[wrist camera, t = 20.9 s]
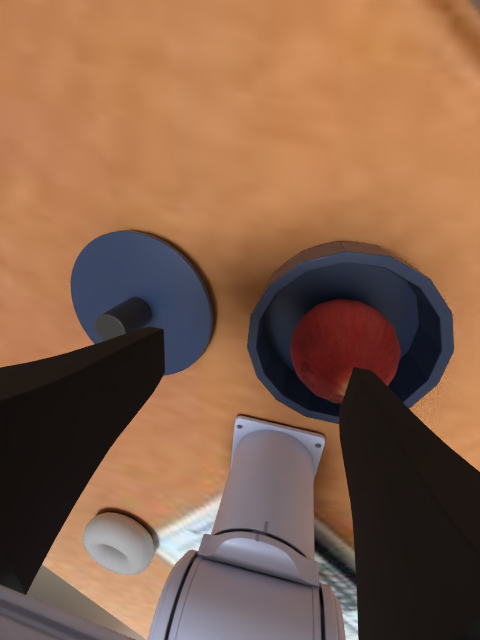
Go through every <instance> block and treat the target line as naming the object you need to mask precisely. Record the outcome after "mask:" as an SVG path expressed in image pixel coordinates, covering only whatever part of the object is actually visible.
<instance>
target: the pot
mask: <svg viewBox="0 0 480 640" xmlns="http://www.w3.org/2000/svg"><path fill="white" fill-rule="evenodd" d="M335 299H346V300H358V301H360V302H362V303H365V304H367V305H369V306H372V307H374V308H376V309H377V310H378V311H379V312H380V313H381V314H382V315H383V316H384V317H385V318H386V319H387V320H388V321H389V322H390V323H391V324H392V325H393V326H394V329H395V332H396V336H397V339H398V342H399V345H400V349H401V355H400V359H399V363H398V367H397V371H396V374H395V376H394V378H393V379H392V380H391V382H390V383H389V385H388V387H389V389H390V390H391V391H392V392H393V393H394V394H395V395H396V396H397V397H398V398H399V399H400V400H401V401H402V402H403V403H404V404H405V405H406V406H407V408H408V409H409V408H411V407H412V406H413V405H414V404H415V403H417V402H418V401H419V400H420V399H421V398H422V397H424V396H425V395H426V394H427V393H428V392H429V391H431V390H432V389H433V388H434V387H435V386H436V385H437V384H438V383H439V381H440V379H441V377H442V375H443V373H444V371H445V369H446V367H447V365H448V362H449V360H450V358H451V356H452V354H453V352H454V338H453V318H452V312H451V310H450V309H449V307H448V306H447V304H446V302H445V301H444V299H443V298H442V296H441V295H440V293H439V292H438V290H437V288H436V287H435V285H434V284H433V282H432V281H431V280H430V278H428V277H427V276H425V275H424V274H422V273H421V272H420V271H418V270H417V269H415V268H414V267H412V266H411V265H410V264H408V263H406V262H405V261H403V260H401V259H400V258H398V257H396V256H394V255H393V254H391V253H390V252H387V251H386V250H384V249H382V248H381V247H379V246H376V245H370V244H365V243H360V242H347V241H337V242H331V243H326V244H321V245H318V246H315V247H312V248H309V249H307V250H304V251H302V252H301V253H299V254H297V255H296V256H294V257H293V258H291V259H290V260H288V261H287V262H286V263H285V264H284V265H282V266H281V267H280V268H279V269H278V270H276V272H275V273H274V274H273V276H272V278H271V279H270V281H269V282H268V284H267V286H266V288H265V289H264V291H263V293H262V294H261V296H260V298H259V300H258V302H257V304H256V306H255V308H254V310H253V312H252V314H251V317H250V325H249V335H248V344H247V347H248V348H247V349H248V352H249V355H250V358H251V361H252V364H253V367H254V370H255V373H256V375H257V378H258V379H259V380H260V381H261V382H262V383H263V385H264V386H265V387H266V388H267V389H268V390H269V391H270V393H271V394H272V395H273V396H274V397H275V398H276V400H278V401H279V402H281V403H283V404H285V405H286V406H288V407H290V408H292V409H293V410H295V411H297V412H299V413H300V414H302V415H304V416H306V417H310V418H314V419H319V420H323V421H328V422H332V423H336V424H339V410H340V407H341V404H342V403H333V402H331V401H328V400H326V399H324V398H321V397H319V396H317V395H315V394H314V393H313V392H312V391H311V390H310V389H309V388H308V387H307V386H306V385H305V384H304V383H303V382H302V381H301V380H300V379H299V377H298V376H297V374H296V371H295V368H294V365H293V362H292V359H291V353H290V349H291V341H292V335H293V333H294V330H295V328H296V327H297V325H298V323H299V322H300V320H301V318H302V317H303V315H304V314H306V313H307V312H308V311H309V310H311V309H312V308H313V307H315V306H316V305H317V304H320V303H323V302H327V301H331V300H335Z"/></svg>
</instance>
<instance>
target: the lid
mask: <svg viewBox="0 0 480 640" xmlns="http://www.w3.org/2000/svg"><path fill="white" fill-rule="evenodd" d="M71 295H72V301H73V305H74V309H75V312H76V314H77V317H78V319H79V321H80V323H81V325H82V327H83V329H84V330H85V332H86V334H87V335H88V336H89V338H90V339H91V340H92V341H93V343H94V344H97V343H100V342H103V341H106V340H109V339H112V338H115V337H118V336H120V335H123V334H126V333H129V332H132V331H135V330H138V329H141V328H145V327H149V326H150V327H155V328H160V329H164V350H165V373H164V375H169V374H174V373H177V372H180V371H182V370H184V369H186V368H188V367H189V366H191V365H192V364H193V363H195V362H196V361H197V359H198V358H199V357H200V356H201V355H202V353H203V352H204V350H205V349H206V347H207V345H208V343H209V340H210V337H211V333H212V328H213V310H212V304H211V300H210V297H209V293H208V291H207V288H206V286H205V284H204V282H203V280H202V278H201V276H200V275H199V273H198V272H197V270H196V269H195V268H194V266H193V265H192V264H191V263H190V261H189V260H188V259H187V258H186V257H185V256H184V255H183V254H182V253H180V252H179V251H178V250H177V249H176V248H174V247H173V246H171V245H170V244H168V243H167V242H165V241H163V240H161V239H159V238H157V237H155V236H152V235H149V234H146V233H142V232H137V231H117V232H112V233H108V234H104V235H102V236H100V237H98V238H96V239H94V240H93V241H91V242H90V243H89V244H88V245H87V246H86V247H85V248H84V249H83V250H82V251H81V253H80V254H79V256H78V257H77V260H76V262H75V264H74V267H73V271H72V276H71Z"/></svg>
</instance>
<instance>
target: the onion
mask: <svg viewBox="0 0 480 640" xmlns="http://www.w3.org/2000/svg"><path fill="white" fill-rule="evenodd" d="M290 353H291V359H292V362H293V365H294V368H295V371H296V374H297V376H298V377H299V379H300V380H301V381H302V382H303V383H304V384H305V385H306V386H307V387H308V388H309V389H310V390H311V391H312V392H313V393H314V394H315V395H317V396H319V397H321V398H324V399H326V400H328V401H331V402H333V403H342V401H343V398H344V395H345V392H346V388H347V385H348V382H349V379H350V376H351V373H352V370H353V367H357V368H362V369H367V370H372V371H373V372H374V373H375V374H376V375H377V376H378V377H379V378H380V379H381V380H382V381H383V382H384V383H385V384H386V385H387V386H388V385H389V383H390V382H391V380H392V379H393V378H394V376H395V374H396V371H397V367H398V363H399V359H400V355H401V349H400V345H399V342H398V339H397V336H396V332H395V329H394V326H393V325H392V324H391V323H390V322H389V321H388V320H387V319H386V318H385V317H384V316H383V315H382V314H381V313H380V312H379V311H378V310H377V309H376V308H374V307H372V306H369V305H367V304H365V303H362V302H360V301H358V300H346V299H335V300H331V301H327V302H323V303H320V304H317V305H316V306H315V307H313V308H312V309H311V310H309V311H308V312H307V313H306V314H304V315H303V317H302V318H301V320H300V322H299V323H298V325H297V327H296V328H295V330H294V333H293V335H292V341H291V349H290Z"/></svg>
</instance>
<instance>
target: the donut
mask: <svg viewBox="0 0 480 640" xmlns="http://www.w3.org/2000/svg"><path fill="white" fill-rule="evenodd" d="M83 544H84V547H85V549H86V551H87V552H88V554H89V555H90V556H91V558H93V559H94V560H95V561H96V562H97V563H98V564H100V565H101V566H103V567H104V568H106V569H108V570H110V571H113V572H116V573H119V574H123V575H135V574H138V573H140V572H142V571H144V570H145V569H146V568H147V567H148V566H149V564H150V563H151V560H152V558H153V555H154V544H153V540H152V537H151V536H150V534H149V532H148V531H147V530H146V529H145V528H144V527H143V526H142V525H141V524H139V523H138V522H137V521H135V520H134V519H132V518H130V517H128V516H125V515H122V514H119V513H110V512H107V513H103V514H99V515H97V516H96V517H94V518H93V519H92V520H91V521H90V522H89V523H88V524H87V526H86V528H85V530H84V535H83Z"/></svg>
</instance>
